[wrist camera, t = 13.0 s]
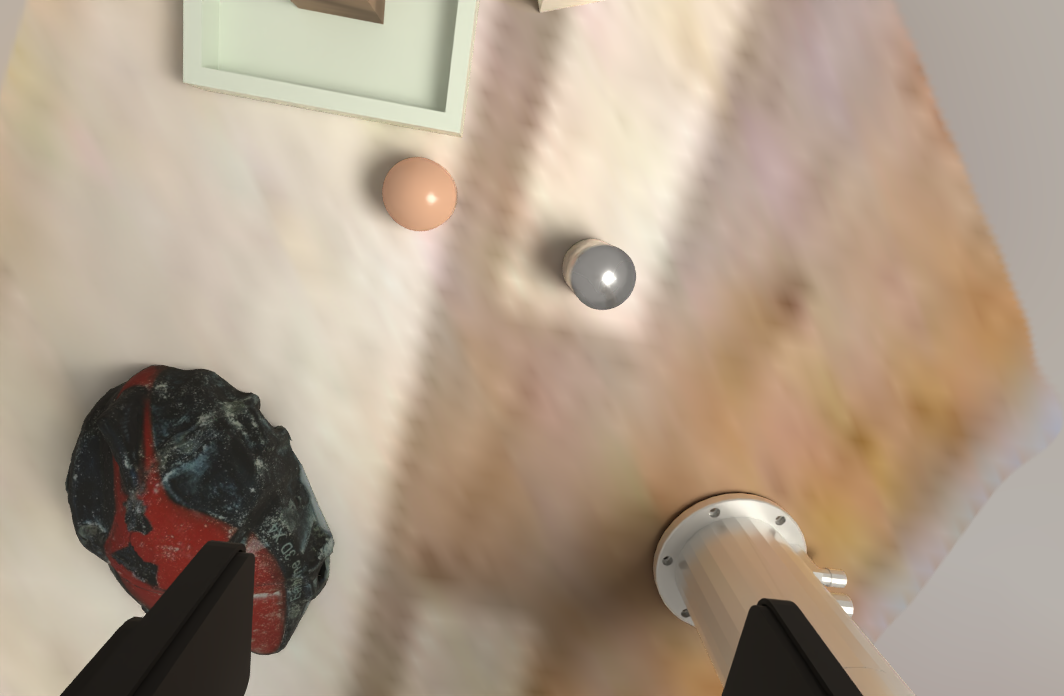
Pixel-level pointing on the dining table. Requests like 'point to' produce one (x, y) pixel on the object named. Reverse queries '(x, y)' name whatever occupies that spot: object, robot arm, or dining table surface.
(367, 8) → the walnut block
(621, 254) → the grey cylinder
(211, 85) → the tray
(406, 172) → the peach rounded capsule
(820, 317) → the dining table surface
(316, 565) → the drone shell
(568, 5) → the cream block
